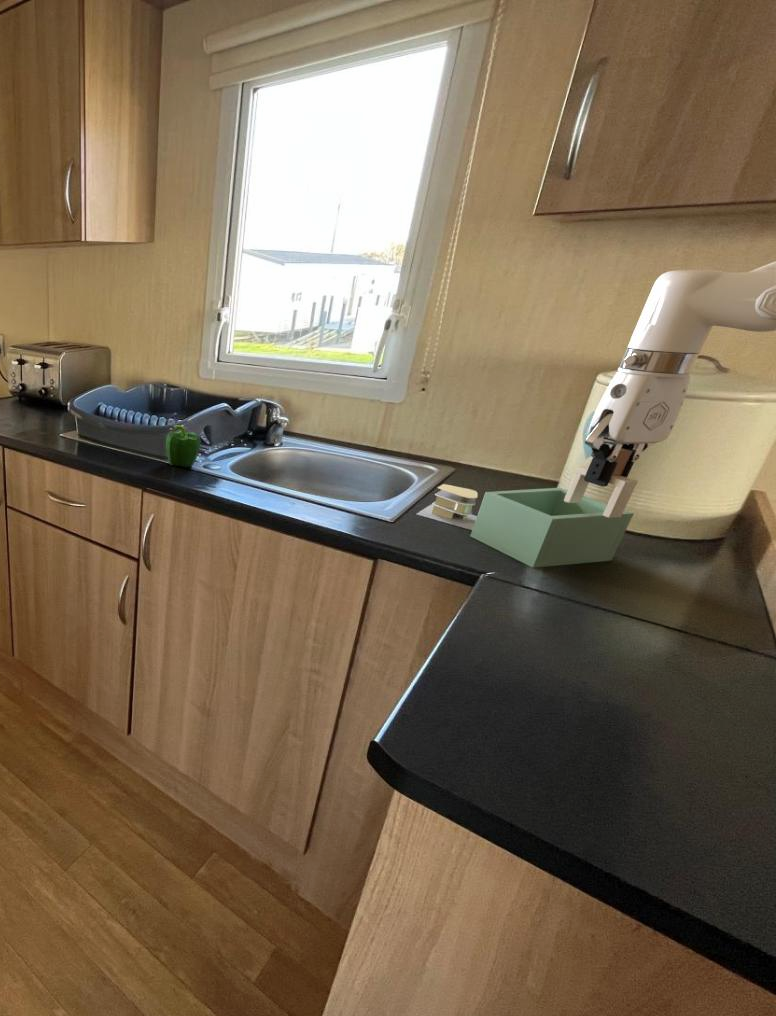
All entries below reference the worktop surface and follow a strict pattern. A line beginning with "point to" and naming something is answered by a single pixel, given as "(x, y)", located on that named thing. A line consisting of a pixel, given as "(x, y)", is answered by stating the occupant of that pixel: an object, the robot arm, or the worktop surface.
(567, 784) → the worktop surface
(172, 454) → the bell pepper
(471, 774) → the worktop surface
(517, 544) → the tote
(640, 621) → the worktop surface
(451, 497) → the stacked layers on plate
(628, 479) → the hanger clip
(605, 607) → the worktop surface
